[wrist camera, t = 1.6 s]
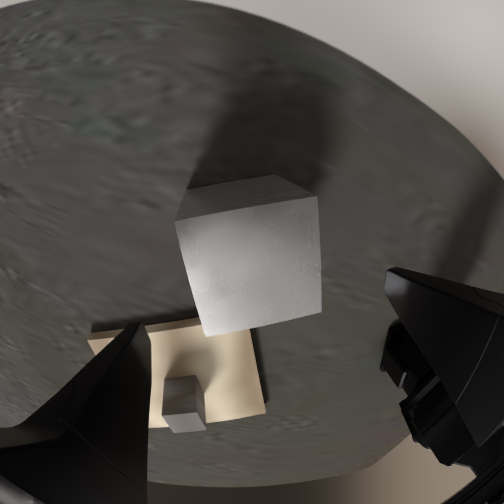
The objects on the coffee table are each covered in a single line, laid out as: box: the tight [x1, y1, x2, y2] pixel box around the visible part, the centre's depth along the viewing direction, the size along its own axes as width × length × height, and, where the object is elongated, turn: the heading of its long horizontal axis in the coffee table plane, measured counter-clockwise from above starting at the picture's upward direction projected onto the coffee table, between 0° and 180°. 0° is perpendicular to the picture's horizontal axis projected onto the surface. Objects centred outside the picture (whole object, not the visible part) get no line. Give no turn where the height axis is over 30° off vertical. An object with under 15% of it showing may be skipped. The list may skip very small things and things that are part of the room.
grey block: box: [174, 175, 321, 337], centre depth 15 cm, size 6×6×7 cm
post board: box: [87, 317, 266, 433], centre depth 20 cm, size 13×13×5 cm
